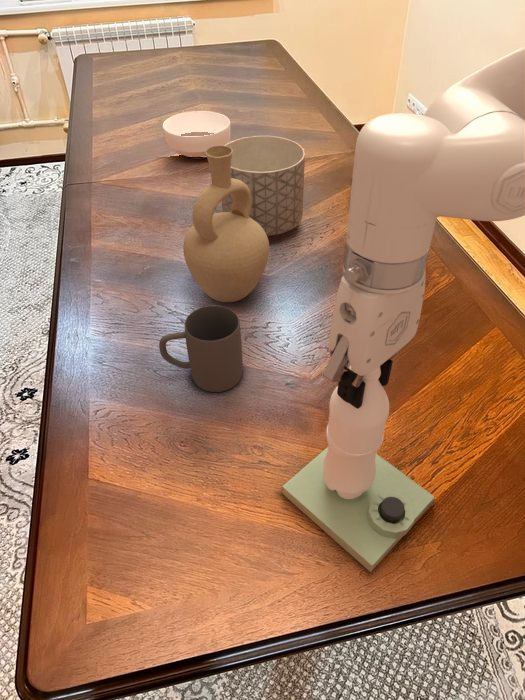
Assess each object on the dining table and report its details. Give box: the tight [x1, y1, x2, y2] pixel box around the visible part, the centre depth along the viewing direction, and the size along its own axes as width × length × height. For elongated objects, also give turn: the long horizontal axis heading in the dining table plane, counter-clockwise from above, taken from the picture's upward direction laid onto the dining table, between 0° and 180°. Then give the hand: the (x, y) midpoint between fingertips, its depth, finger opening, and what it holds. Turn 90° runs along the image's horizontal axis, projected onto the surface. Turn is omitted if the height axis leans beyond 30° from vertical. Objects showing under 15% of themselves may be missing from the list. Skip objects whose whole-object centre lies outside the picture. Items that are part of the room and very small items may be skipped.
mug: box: [158, 304, 244, 393], centre depth 90 cm, size 14×9×12 cm
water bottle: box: [323, 365, 390, 499], centre depth 68 cm, size 7×7×25 cm
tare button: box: [380, 497, 405, 523], centre depth 71 cm, size 3×3×2 cm
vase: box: [182, 146, 270, 303], centre depth 101 cm, size 17×17×30 cm
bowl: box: [162, 110, 231, 159], centre depth 159 cm, size 20×20×8 cm
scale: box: [281, 446, 436, 573], centre depth 75 cm, size 16×14×4 cm
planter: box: [221, 135, 306, 237], centre depth 124 cm, size 19×19×18 cm
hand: (362, 388), depth 62 cm, fingers closed on water bottle, 4 cm apart
